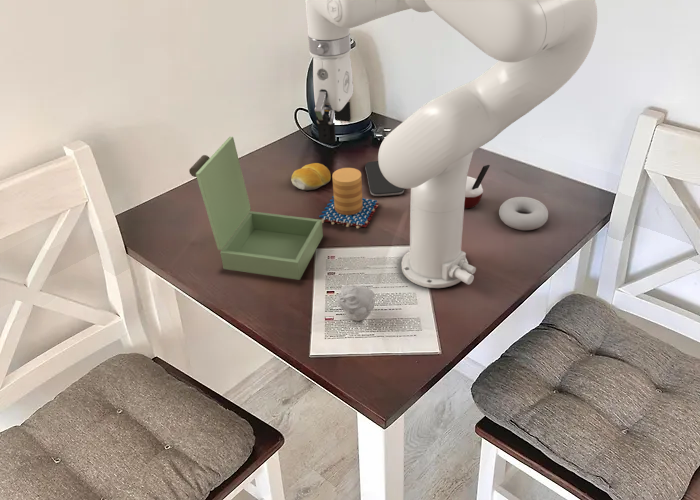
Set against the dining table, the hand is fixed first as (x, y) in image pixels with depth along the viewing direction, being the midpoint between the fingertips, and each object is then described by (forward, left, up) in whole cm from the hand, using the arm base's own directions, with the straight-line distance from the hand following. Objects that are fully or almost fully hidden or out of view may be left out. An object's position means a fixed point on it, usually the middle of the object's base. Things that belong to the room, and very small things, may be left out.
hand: (335, 130), depth 129 cm
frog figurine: (-25, +20, -21) cm, 38 cm away
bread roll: (+16, -6, -21) cm, 27 cm away
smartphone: (+4, -18, -21) cm, 28 cm away
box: (0, +18, -21) cm, 27 cm away
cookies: (0, -2, -19) cm, 19 cm away
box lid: (+7, +22, -7) cm, 24 cm away
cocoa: (-17, -22, -21) cm, 35 cm away
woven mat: (-1, -2, -21) cm, 21 cm away
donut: (-29, -25, -21) cm, 43 cm away
